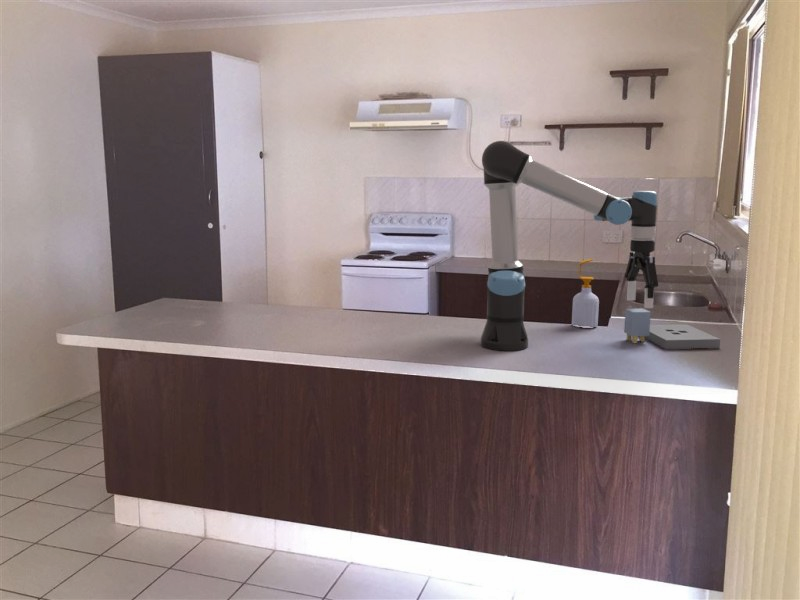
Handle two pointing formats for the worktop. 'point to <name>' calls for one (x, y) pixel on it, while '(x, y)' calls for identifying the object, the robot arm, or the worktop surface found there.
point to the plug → (637, 324)
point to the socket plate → (681, 337)
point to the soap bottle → (585, 304)
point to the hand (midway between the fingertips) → (639, 304)
